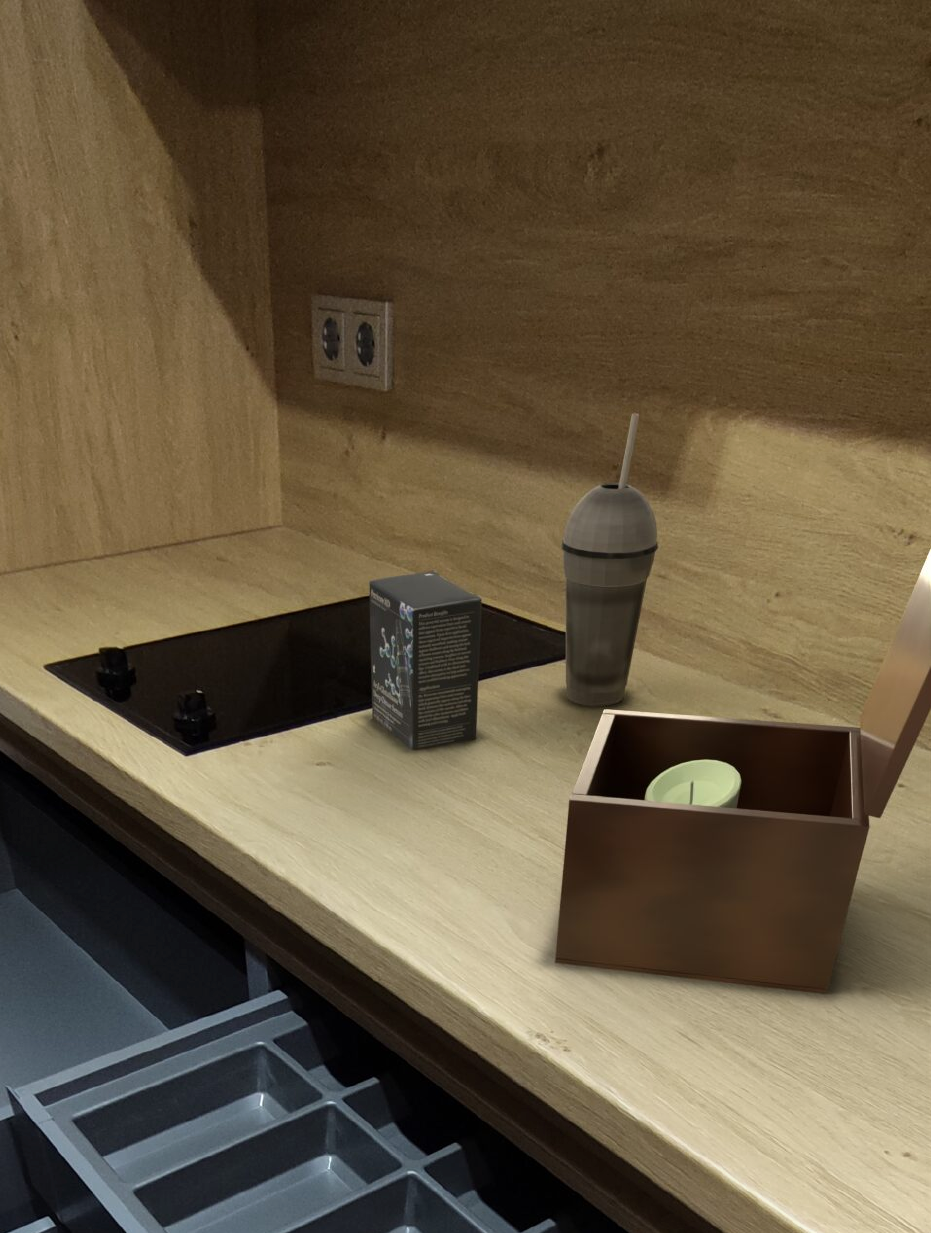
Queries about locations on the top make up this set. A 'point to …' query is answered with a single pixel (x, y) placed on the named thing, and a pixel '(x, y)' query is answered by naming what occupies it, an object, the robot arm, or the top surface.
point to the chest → (714, 852)
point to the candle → (697, 784)
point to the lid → (898, 700)
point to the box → (424, 659)
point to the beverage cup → (606, 584)
